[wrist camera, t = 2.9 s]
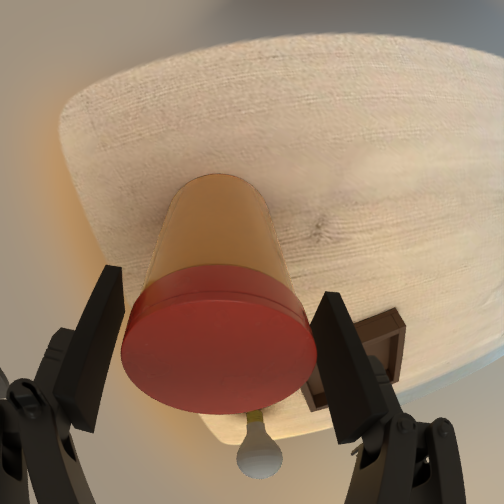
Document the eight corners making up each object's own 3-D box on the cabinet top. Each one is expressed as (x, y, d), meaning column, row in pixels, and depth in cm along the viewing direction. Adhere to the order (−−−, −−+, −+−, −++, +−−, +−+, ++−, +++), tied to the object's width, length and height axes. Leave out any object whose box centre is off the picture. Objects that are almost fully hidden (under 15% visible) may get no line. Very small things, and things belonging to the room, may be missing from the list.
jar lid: (180, 394, 14) (178, 423, 13) (94, 297, 10) (79, 331, 9) (319, 360, 13) (328, 391, 12) (281, 235, 9) (293, 268, 8)
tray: (306, 395, 34) (310, 412, 32) (286, 345, 28) (291, 366, 26) (391, 366, 33) (398, 381, 31) (395, 307, 27) (406, 325, 25)
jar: (192, 275, 23) (181, 413, 13) (150, 196, 19) (90, 323, 9) (280, 247, 22) (322, 381, 12) (250, 158, 18) (286, 263, 8)
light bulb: (253, 396, 33) (262, 471, 25) (282, 407, 35) (295, 474, 27) (224, 411, 35) (228, 480, 26) (253, 421, 37) (261, 484, 29)
